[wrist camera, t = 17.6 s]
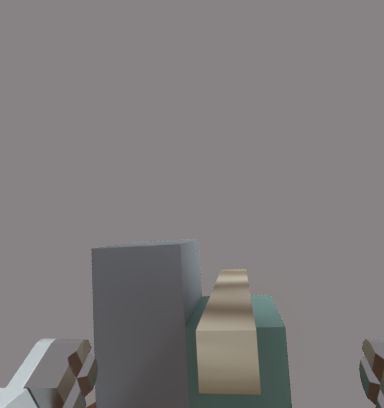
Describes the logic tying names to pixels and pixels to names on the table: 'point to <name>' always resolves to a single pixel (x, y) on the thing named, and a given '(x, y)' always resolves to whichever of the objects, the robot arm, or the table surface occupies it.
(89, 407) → the table surface
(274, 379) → the stepped riser
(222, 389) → the ash rod
